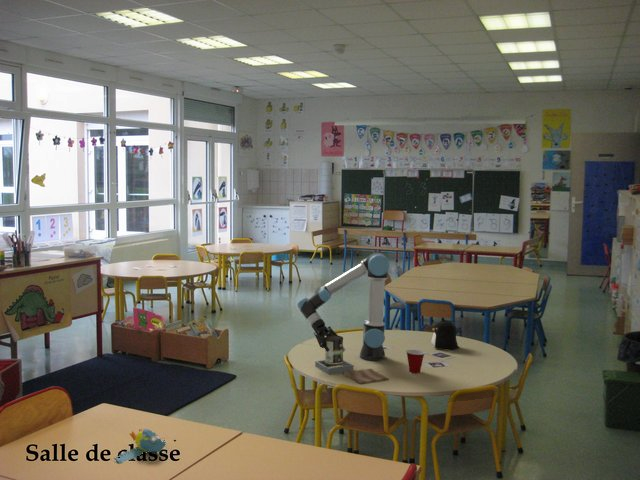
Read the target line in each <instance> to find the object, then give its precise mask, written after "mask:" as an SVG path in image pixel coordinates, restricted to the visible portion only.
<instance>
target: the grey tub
mask: <svg viewBox="0 0 640 480" xmlns="http://www.w3.org/2000/svg"><path fill="white" fill-rule="evenodd" d="M314 362H315V364H314V367H316V368H317V369H319V370H320V371H322V372H324V373H326V374H327V375H333V374H339V373H345V372H352V371H355V369H354V366H355V365H354V364H352V363H350V362H349V361H346V360H345V359H343V363H341V364H340V365H341V366H335V367H328V366H333V365H334V364H328V363H326V362H325V359H322V360H316V361H314Z"/></svg>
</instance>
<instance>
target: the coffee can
mask: <svg viewBox="0 0 640 480" xmlns="http://www.w3.org/2000/svg"><path fill="white" fill-rule="evenodd" d="M325 340H326V344H327V345H329V347H330V348H331V350H332V351H333V352H334V355H333V356H332V357H331V356H330V355H329V353H328V352H327V351H326V350H325V349H324V350H325V353H324V354H325V356H324V360H325V362H326V363H328V364H333V365H341V363H343V360H344V352H343V347H344V337H343V336H341V335H338V336H335V335H334V336H325Z"/></svg>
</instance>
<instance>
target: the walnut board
mask: <svg viewBox="0 0 640 480" xmlns="http://www.w3.org/2000/svg"><path fill="white" fill-rule="evenodd" d="M342 375H343V376H345V377H346V378H349V379H350V380H352V381H354V382H355V383H357V384H358V385H364V384H371V383H377V382H382V381H389V379H390V378H389V377H388V376H386V375H384V374H382V373H380V372H379V371H376V370H375V369H373V368H367V369H360V370H353V371H347V372H342Z"/></svg>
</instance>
